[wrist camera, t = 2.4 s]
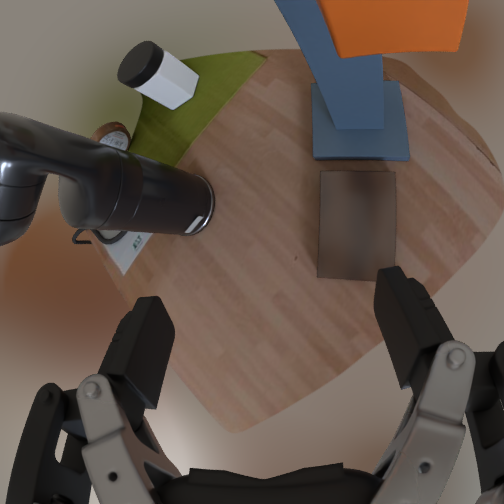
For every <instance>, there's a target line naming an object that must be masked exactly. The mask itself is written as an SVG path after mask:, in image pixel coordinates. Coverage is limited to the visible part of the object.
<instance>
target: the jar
mask: <svg viewBox="0 0 504 504" xmlns="http://www.w3.org/2000/svg"><path fill="white" fill-rule="evenodd" d="M117 76H118V80H119V81H120V82H121V83H123V84H125V85H127V86H129V87H131V88H134V89H135V90H137V91H139V92H140V93H142V94H144V95H146V96H148V97H150V98H152V99H153V100H155V101H157V102H159V103H161V104H162V105H164V106H166V107H168V108H170V109H171V110H174V109H176V108H177V107H178V106H180V105H181V104H183V103H184V102H186V101H187V100H189V99H191V98H192V97H193V95H194V92H195V88H196V85H197V82H198V78H199V75H197V74H196V73H195V72H194V71H192V70H191V69H190V68H189V67H187V66H186V65H185V64H183V63H182V62H181V61H179V60H178V59H177V58H175V57H174V56H173V55H171V54H170V53H169V52H167V51H165V50H162V48H160V47H159V46H157V45H156V44H155V43H153V42H152V41H144V42H142V43H140V44H138V45H137V46H135V47H134V48H133V49H132V50H131V51H130V52H129V53H128V54H127V55H126V56H125V58H124V59H123V61H122V62H121V64H120V67H119V69H118V74H117Z"/></svg>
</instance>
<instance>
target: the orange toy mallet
mask: <svg viewBox="0 0 504 504" xmlns="http://www.w3.org/2000/svg"><path fill="white" fill-rule="evenodd" d="M316 2H317V4H318V6H319V9H320V11H321V13H322V16H323V18H324V21H325V23H326V26H327V28H328V31H329V33H330V36H331V39H332V41H333V44H334V47H335V50H336V52H337V55H338V56H339V57H340V58H342V59H345V58H352V57H359V56H367V55H376V54H386V53H399V52H423V51H425V52H426V51H439V52H441V51H443V52H444V51H445V52H456V51H457V50H458V48H459V44H460V40H461V35H462V32H463V27H464V22H465V18H466V13H467V8H468V2H469V0H316Z"/></svg>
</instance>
